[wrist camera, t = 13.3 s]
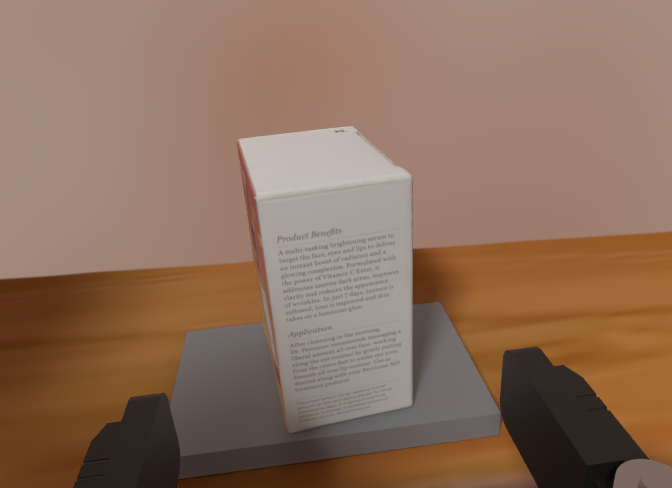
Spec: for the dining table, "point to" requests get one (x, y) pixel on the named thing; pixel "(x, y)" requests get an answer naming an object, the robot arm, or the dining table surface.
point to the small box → (332, 272)
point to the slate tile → (329, 440)
